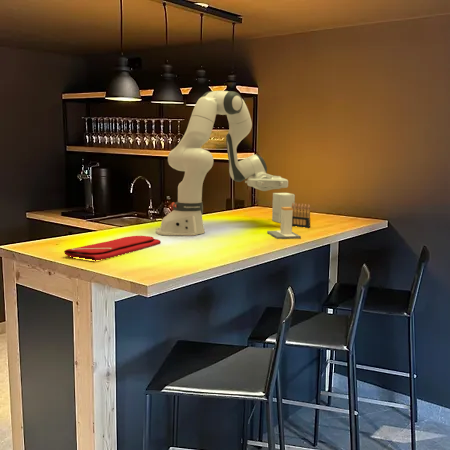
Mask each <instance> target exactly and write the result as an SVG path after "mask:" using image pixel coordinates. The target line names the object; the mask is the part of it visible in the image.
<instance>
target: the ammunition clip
mask: <svg viewBox="0 0 450 450" xmlns="http://www.w3.org/2000/svg"><path fill="white" fill-rule="evenodd" d="M292 208H293V212H292V227H295V226H297V228H303V227H305V229H310V228H311V206H310V203H308V204H306V203H297V202H295V204H294V203H292Z"/></svg>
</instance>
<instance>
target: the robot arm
mask: <svg viewBox="0 0 450 450" xmlns="http://www.w3.org/2000/svg"><path fill="white" fill-rule="evenodd" d="M217 115H220V116H221V115H222V116H224V115H225V116H226V117H227V121H228V126H229V127H228V128H229V129H228V133H227V134H226V135H225V136H226V137H225V142H226V150H227V158H228V169H229V170H228V171H229V176H230V178H231V179H232V180H233V181H235V182H237V183H241V182H243V181H244V183H245V184H247V186H248V187H252V188H254V189H256V190H259V191H261V192H267V191H271V190H281V189H285V188H286V189H287V188H288V187H289V180H288V179H287V178H284V177H282V176H281V175H275V174H274V175H272V174H269V173H267V171H268V166H267V164H266V161H265V159H264V158H263V157H262V156H260V155H259V154H255V153H254V154H253V155H250V156H247V157H245V158H243V159H241V160H238V152H237V149H238V146H239V144H240V143H241V141H242V140H244V139H245V138H246V137H247V136H248V135H249V134H250V133H251V130H252V127H253V122H252V118H251V114H250V111H249V108H248V106H247V104H246V103H245V100H244V99H243V98H242V96H241V95H240V93H239V92H237V91H231V90H230V91H228V90H214V91H213V90H210V91H206V92H205V93H204V94H203V95H202V96H201V97H199V98H198V100H197V102H196V103H195V105H194V107H193V110H192V112H191V115H190V118H189V121H188V124H187V128H186V130H185V132H184V135H183V136H182V138H181V140H180V141H179V143H178V144H177V145H176V146H175V147H174V148H173V149H171V150H170V152H169V153H168V155H167V163H168V165H169V166H170V168H172V169H173V170H176V171H179V172H184V174H183V178H182V181H180V182H179V183H178V186H177V201H176V202H175V201H173V202H171V207H173V210H172V211H170V212H169V213H168V214H167V215H165V216H164V217H162V219H161V223H160V227H158V228H156V229H155V232H156V234H157V235H161V236H197V235H201V234H204V233H205V227H204V223H203V221H204V220H203V212H204V205H203V204H204V203H203V201H202V200H203V185H204V184H203V183H204V180H205V178H206V176H207V173H209V171H210V170H211V169H212V167H213V166H214V156H213V154H212V153H211V152H210V151H209V150H206V149H205V148H204V149H203V148H202V146H204V144H206V143H207V142H208V141H209V140H210V138H211V134H212V133H213V132H212V131H213V128H214V124H215V121H216V117H217Z"/></svg>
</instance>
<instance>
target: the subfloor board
mask: <svg viewBox="0 0 450 450" xmlns="http://www.w3.org/2000/svg"><path fill="white" fill-rule="evenodd" d="M267 234H268V235H270V236H271V237H272V238H275V239H277V240H283V239H284V240H287V239H289V240H291V239H297V240H298V239H301V237H302V236H301V235H299V234H297V233H295V232H294V231H292V234H282V233H281V230H267Z"/></svg>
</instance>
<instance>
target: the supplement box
mask: <svg viewBox="0 0 450 450" xmlns="http://www.w3.org/2000/svg"><path fill="white" fill-rule="evenodd" d="M295 198H296V195H295V194H294V193H290V192H272V209H271V210H272V211H271V212H272V214H271V220H272V221H273V222H276V223H279V224H281V207H291V208H292V203H294V205H295V204H296V202H295V201H296V199H295Z"/></svg>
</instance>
